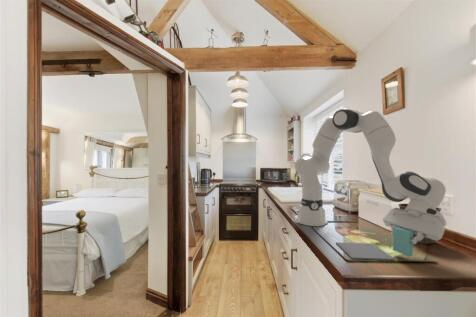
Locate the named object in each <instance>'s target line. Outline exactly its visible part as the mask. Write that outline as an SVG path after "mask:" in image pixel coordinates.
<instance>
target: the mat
mask: <svg viewBox="0 0 476 317" xmlns="http://www.w3.org/2000/svg"><path fill="white" fill-rule="evenodd" d="M335 244H336V246H338V247H339V248H340V249H341V250H342V251H343V252H344V254H346V253H347V254H348V255H349V256H350V257H351V258H352V259H351V258H350V257H349V256H348V255H347V254H346V255H347V256H348V257H349V258H350V259H351V260H364V259H368V261H372V260H373V261H391V260H392V261H396V258H394V257H393V256H391V255H390V254H388V253H387V252H386V251H384V250H383V249H382V248H380V247H378V246H377V245H376V244H374V243H364V242H363V243H362V242H339V241H338V242H335Z"/></svg>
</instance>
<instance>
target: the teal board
mask: <svg viewBox="0 0 476 317" xmlns="http://www.w3.org/2000/svg"><path fill="white" fill-rule="evenodd" d="M411 237H413V232H412V231H409V230H405V229H402V228H398V227H395V228H394V233H393V237H392V238H393V239H392V250H393V251H394V252H396V253H398V254H402V255H404V256H407V257H411V256H413V251H414V244H412V243H410V241H409V240H410V239H411Z"/></svg>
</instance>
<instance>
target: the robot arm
mask: <svg viewBox="0 0 476 317" xmlns="http://www.w3.org/2000/svg"><path fill="white" fill-rule="evenodd" d="M344 132H347V133H348V132H349V133H353V134H355V133H361V132H362V134H363V135H364V138H365V139H366V142H367V144H368V146H369V149H370V154H371V158H372V161H373V164H374V167H375V169H376V171H377V175H378V177H379V180H380V182H381V190H382V194H383V196H384V197H385V198H386V199H388V200H389V201H391V202H395V203H401V202H403V201H405V200H406V199H409V202H408V203H407V204H408V205H407V207H406V208H405V209H400V207H395V208H391V209H390V210H389V211H388V212H387V213H386V214H385V216H384V217H383V220H382V221H383V223H384V224H385V226H386V227H389V228H390V229H391V230H390V233H389V236H390V237H391V238H393V233H394V228H395V227H398V228H402V229H405V230H409V231H412V232H413V234H416V235H417V236H416V237H414V238H413V237H411V239H410V240H409V241H410V243H412V244H413V245H416V244H418V243H417V241H420V240H422V239H423V238H424V237H426V238H429V239H433V240H435V242H437V241H439V240H442V238H443V236H444V233H445V230H446V228H445V226H446V225H447V221H446V219H445V217H444V215H443V214H442V213H441V211H440V212H439V211H437V210H436V208H437V207H438V208H439V207H440V205H441V204H442V202H443V200H444V198H445V195H446V190H447V188H446V186H445V184H444V183H443V182H442V181H440V180H439V179H437V178H433V177H424V176H421V175H420V174H418V173H416V172H414V171H408V170H407V171H403V172H402V173H400V174H398V175H395V172H394V170H393V168H392V166H391V162H390V155H391V152H392V150H393V148H394V146H395V145H396V142H397V141H396V140H397V138H396V134H395V133H394V130H393V128H392V126H390V123H389V122H388V121H387V120H386V118H385V117H384V116H383V115H382V114H381V112H379V111H377V110H376V111H375V110H372V111H368V112H365V113H363V112H361V111H359V110H356V109H355V110H354V109H350V108H341V109H338V110H336V111H335V112H334V113H333V115H332V116H329V117H327V118H326V119H325V120H324V122H323V123H322V124H321V127H320V128H319V129H318V132H317V134H316V136H315V138H314V140H313V143H312V148H313V150H312V151H313V152H312V154H311V156H304V157H303V156H302V157H299V158H298V159H297V160H296V162H295V163H294V169H295V172H296V173H297V174H298V175H299V178H300V182H301V187H302V190H301V193H302V195H301V196H302V197H301V200H300V207H298V209H296V211H295V213H296V214H297V215H295V216H294V222H295V223H296V224H301V225H304V226H311V227H322V226H324V225H328V224H329V222H328V221H327V220H326V209H325V207H323V204H324V201H323V200H324V199H323V186H322V184H321V183H320V181H319V177H318V176H322V175H324V174H326V173H327V172H328V171H330V158H331V155H332V152H333V150H334V147H335V145H336V143H337V141H338V140H339V138H340V136H341V134H342V133H344Z"/></svg>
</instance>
